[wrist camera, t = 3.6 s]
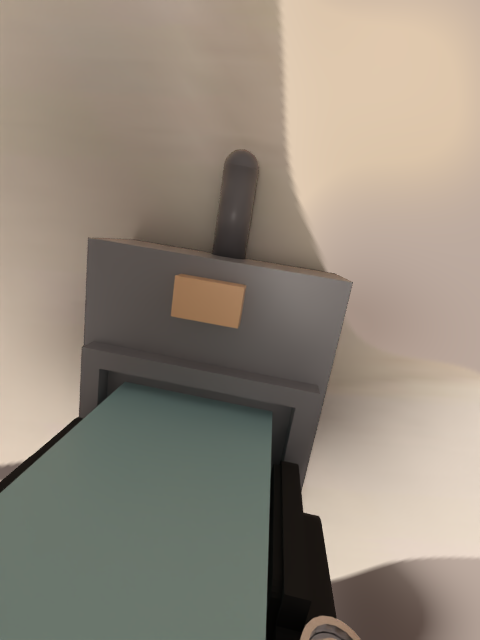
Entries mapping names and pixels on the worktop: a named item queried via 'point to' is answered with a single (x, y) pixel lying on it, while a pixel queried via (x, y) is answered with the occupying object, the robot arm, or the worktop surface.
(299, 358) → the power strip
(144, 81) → the worktop surface
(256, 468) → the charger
